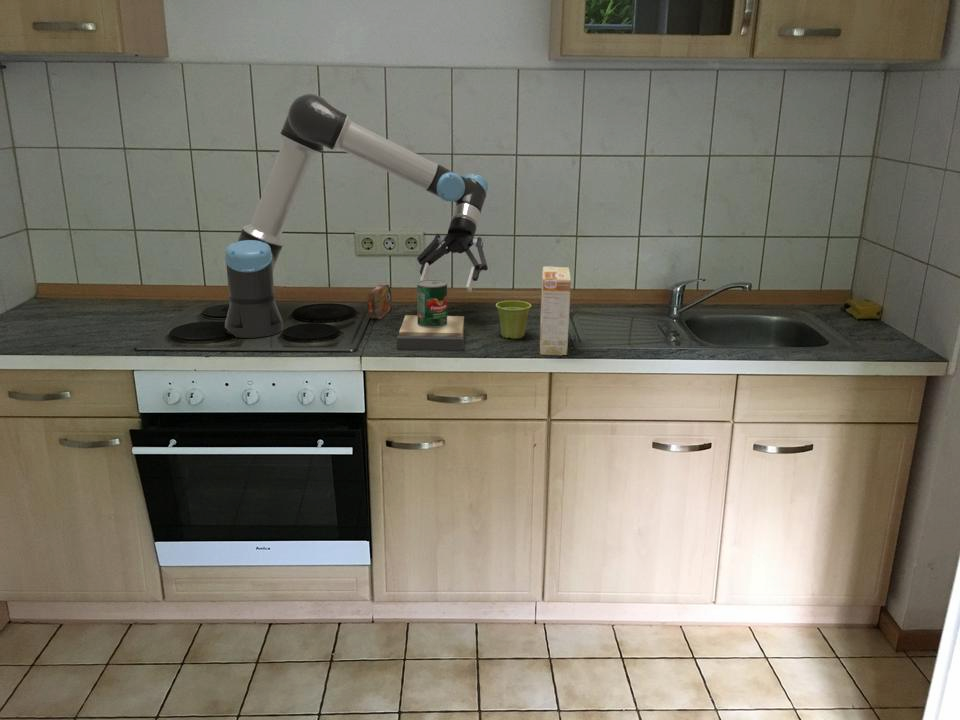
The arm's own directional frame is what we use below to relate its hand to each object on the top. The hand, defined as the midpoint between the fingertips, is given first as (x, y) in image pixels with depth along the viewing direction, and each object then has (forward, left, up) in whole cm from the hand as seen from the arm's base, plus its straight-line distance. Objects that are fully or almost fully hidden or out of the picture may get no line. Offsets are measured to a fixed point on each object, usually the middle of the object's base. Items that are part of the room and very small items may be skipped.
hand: (444, 287), depth 212 cm
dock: (+8, -6, -11) cm, 16 cm away
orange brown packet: (-19, -13, -12) cm, 26 cm away
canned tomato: (+8, -6, -8) cm, 13 cm away
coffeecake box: (+25, +21, -12) cm, 35 cm away
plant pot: (+13, +15, -12) cm, 23 cm away
